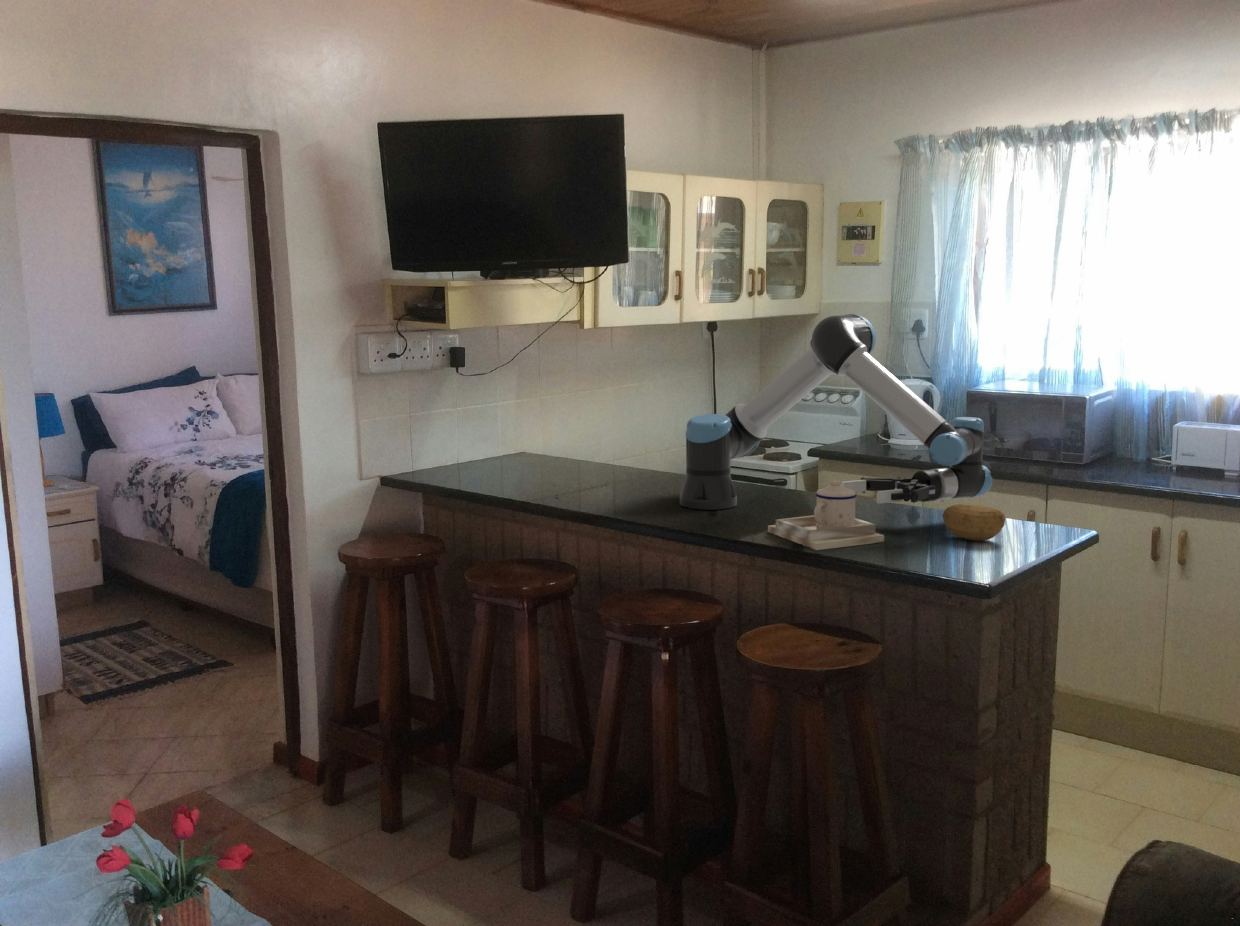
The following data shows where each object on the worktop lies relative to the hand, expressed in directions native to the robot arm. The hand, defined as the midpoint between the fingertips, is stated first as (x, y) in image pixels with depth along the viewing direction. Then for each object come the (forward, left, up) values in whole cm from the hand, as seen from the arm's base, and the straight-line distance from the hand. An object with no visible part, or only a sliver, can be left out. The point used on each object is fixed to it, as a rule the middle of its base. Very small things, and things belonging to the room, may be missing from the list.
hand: (859, 492), depth 250 cm
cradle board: (0, -9, -10) cm, 13 cm away
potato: (+17, +19, -10) cm, 27 cm away
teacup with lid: (+2, -9, -8) cm, 12 cm away
